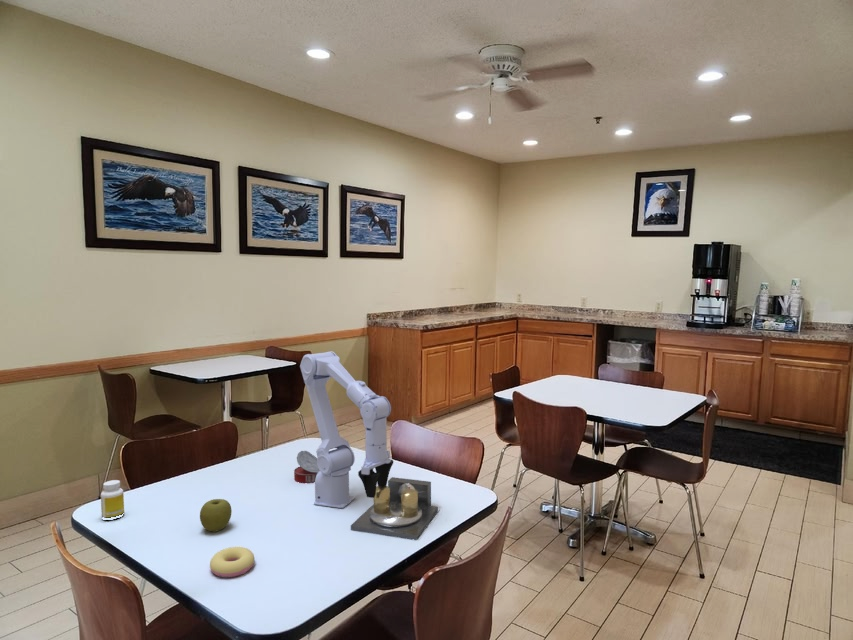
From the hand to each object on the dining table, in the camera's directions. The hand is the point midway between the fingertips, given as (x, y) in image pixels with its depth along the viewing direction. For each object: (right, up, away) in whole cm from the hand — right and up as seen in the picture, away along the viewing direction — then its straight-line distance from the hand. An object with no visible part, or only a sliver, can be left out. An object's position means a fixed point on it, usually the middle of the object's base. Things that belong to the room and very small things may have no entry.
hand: (376, 491), depth 148 cm
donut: (-30, -10, -25) cm, 40 cm away
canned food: (-25, -6, +31) cm, 40 cm away
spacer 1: (+1, -5, 0) cm, 5 cm away
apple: (-42, -8, -5) cm, 43 cm away
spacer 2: (+9, -5, -3) cm, 11 cm away
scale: (+6, -7, 0) cm, 9 cm away
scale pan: (+5, -6, -1) cm, 8 cm away
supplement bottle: (-73, -8, +2) cm, 73 cm away
